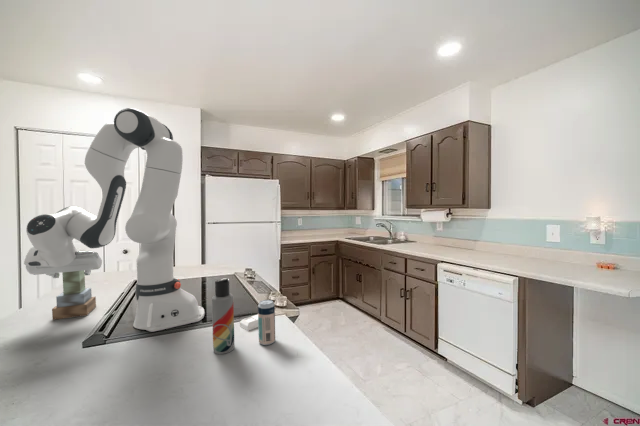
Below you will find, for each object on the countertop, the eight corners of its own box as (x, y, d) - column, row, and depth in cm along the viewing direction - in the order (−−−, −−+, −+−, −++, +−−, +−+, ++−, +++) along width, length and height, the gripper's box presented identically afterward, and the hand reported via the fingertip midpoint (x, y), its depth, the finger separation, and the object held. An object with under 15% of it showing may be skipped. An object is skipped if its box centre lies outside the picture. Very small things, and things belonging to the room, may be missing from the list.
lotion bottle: (222, 356, 77) (220, 282, 76) (208, 351, 80) (206, 280, 79) (238, 347, 81) (237, 277, 81) (225, 342, 84) (223, 275, 84)
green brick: (85, 289, 112) (84, 263, 112) (80, 292, 107) (79, 266, 107) (69, 290, 110) (67, 265, 110) (63, 294, 106) (62, 268, 105)
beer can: (278, 340, 85) (277, 300, 85) (269, 347, 81) (268, 305, 81) (265, 337, 87) (264, 298, 87) (255, 344, 83) (254, 303, 83)
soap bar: (270, 323, 98) (270, 315, 98) (247, 332, 92) (247, 323, 92) (262, 319, 102) (262, 311, 102) (239, 327, 95) (239, 319, 95)
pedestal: (96, 306, 116) (95, 286, 115) (87, 315, 106) (86, 294, 106) (64, 310, 112) (63, 290, 111) (52, 319, 103) (51, 297, 102)
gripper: (98, 244, 104) (107, 265, 113) (24, 248, 96) (40, 270, 105) (94, 258, 100) (104, 279, 109) (17, 264, 92) (35, 286, 102)
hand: (72, 275), depth 107 cm, fingers open, 8 cm apart
